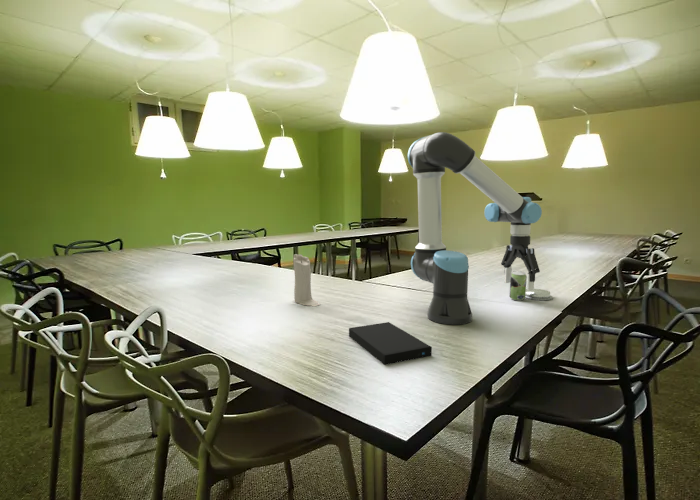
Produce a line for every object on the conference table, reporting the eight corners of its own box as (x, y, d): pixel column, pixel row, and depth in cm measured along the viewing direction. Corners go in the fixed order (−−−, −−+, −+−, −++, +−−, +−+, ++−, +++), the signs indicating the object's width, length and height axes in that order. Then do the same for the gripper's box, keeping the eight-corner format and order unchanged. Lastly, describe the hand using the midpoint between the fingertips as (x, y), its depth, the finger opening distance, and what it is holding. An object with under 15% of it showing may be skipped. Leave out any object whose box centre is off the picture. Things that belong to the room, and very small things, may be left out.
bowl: (535, 301, 156) (535, 295, 156) (515, 294, 168) (515, 289, 167) (559, 299, 159) (559, 293, 159) (538, 292, 171) (538, 287, 171)
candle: (310, 307, 150) (309, 257, 148) (291, 300, 161) (289, 254, 158) (324, 304, 155) (323, 255, 153) (305, 298, 165) (304, 252, 163)
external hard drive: (389, 331, 123) (389, 322, 123) (431, 357, 102) (431, 346, 102) (348, 337, 118) (348, 328, 117) (384, 366, 97) (384, 355, 96)
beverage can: (522, 297, 163) (523, 270, 161) (528, 302, 155) (529, 273, 154) (506, 297, 163) (508, 269, 162) (512, 301, 156) (513, 273, 155)
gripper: (551, 237, 145) (548, 291, 148) (508, 232, 169) (506, 279, 172) (534, 238, 143) (532, 293, 146) (493, 233, 167) (492, 280, 170)
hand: (518, 285), depth 159 cm, fingers open, 13 cm apart
